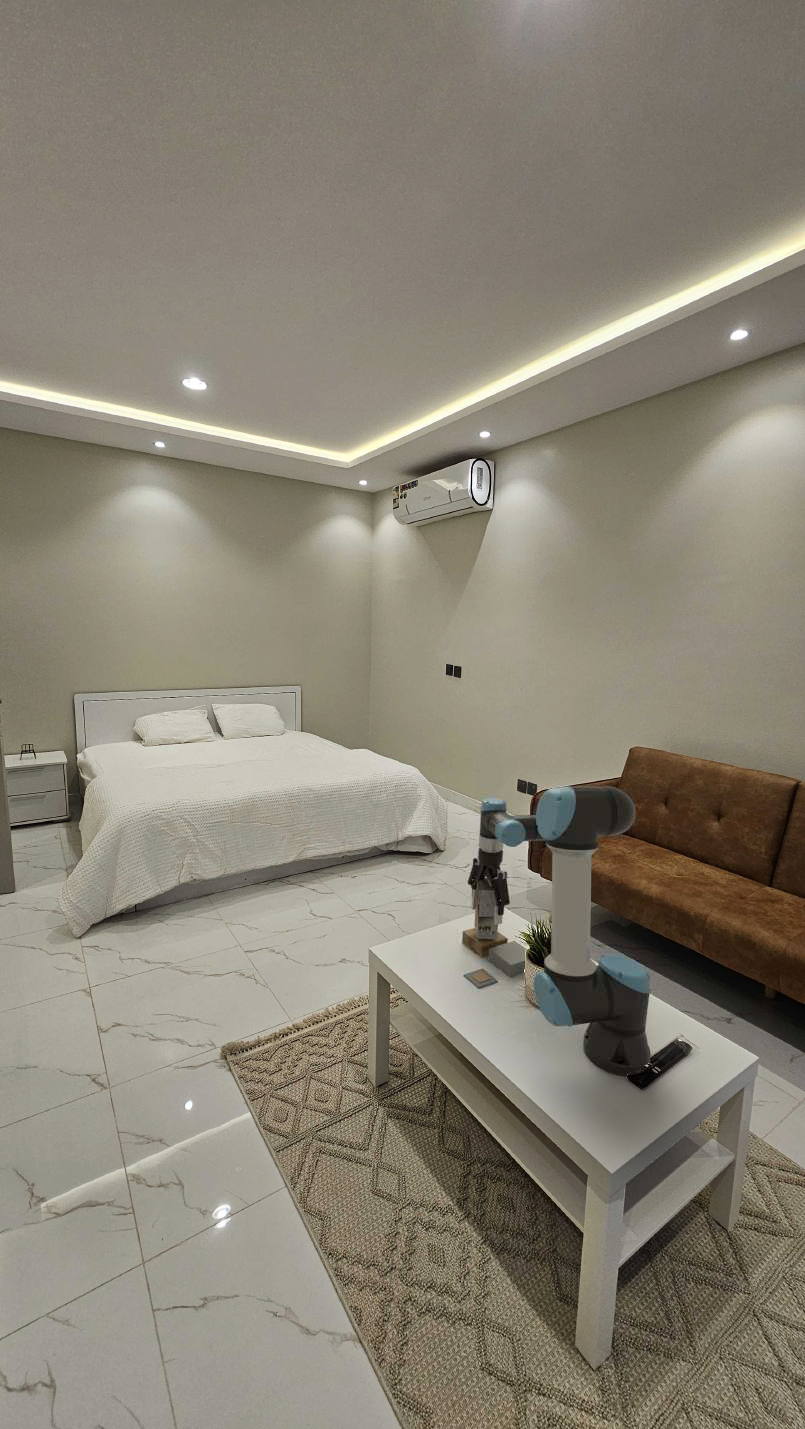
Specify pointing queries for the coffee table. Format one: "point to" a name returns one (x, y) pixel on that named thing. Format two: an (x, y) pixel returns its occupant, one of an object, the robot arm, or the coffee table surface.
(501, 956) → the grey square block
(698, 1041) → the coffee table surface
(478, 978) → the square coaster
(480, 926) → the coffee box
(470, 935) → the walnut block
